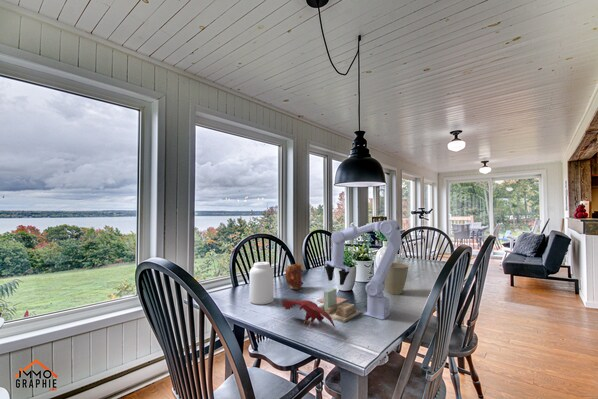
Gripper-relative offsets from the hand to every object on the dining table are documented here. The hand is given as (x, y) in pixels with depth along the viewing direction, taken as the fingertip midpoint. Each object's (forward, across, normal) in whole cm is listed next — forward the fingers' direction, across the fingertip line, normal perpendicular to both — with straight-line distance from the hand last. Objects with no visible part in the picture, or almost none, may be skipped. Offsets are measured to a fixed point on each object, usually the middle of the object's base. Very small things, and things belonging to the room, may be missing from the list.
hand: (335, 282), depth 145 cm
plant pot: (+10, +8, +43) cm, 45 cm away
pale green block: (+11, +3, -6) cm, 13 cm away
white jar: (+15, -30, -22) cm, 41 cm away
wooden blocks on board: (+12, +7, -6) cm, 15 cm away
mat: (+12, -6, +5) cm, 15 cm away
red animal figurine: (+12, +9, -24) cm, 28 cm away
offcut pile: (+10, +12, -5) cm, 16 cm away
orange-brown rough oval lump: (+15, -35, +3) cm, 38 cm away
